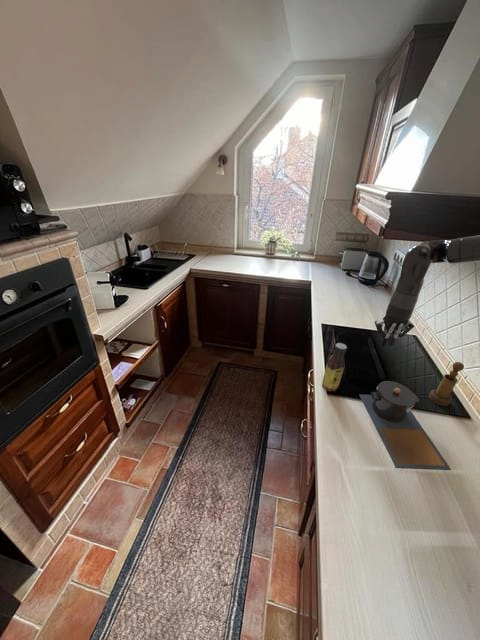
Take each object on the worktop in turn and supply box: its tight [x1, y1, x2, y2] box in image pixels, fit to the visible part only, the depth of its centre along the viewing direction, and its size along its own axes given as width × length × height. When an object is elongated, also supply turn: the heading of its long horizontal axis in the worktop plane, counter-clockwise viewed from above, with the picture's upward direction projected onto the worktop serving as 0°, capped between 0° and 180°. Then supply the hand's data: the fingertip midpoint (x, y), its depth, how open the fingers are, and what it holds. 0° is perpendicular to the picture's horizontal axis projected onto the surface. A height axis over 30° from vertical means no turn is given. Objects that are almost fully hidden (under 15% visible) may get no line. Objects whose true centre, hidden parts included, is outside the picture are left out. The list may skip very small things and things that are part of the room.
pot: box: [370, 380, 420, 423], centre depth 89 cm, size 15×12×10 cm
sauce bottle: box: [321, 342, 348, 393], centre depth 96 cm, size 7×6×20 cm
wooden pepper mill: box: [428, 361, 465, 407], centre depth 92 cm, size 7×6×18 cm
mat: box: [358, 393, 452, 471], centre depth 85 cm, size 16×28×1 cm, turn 179°
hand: (386, 345), depth 94 cm, fingers closed
